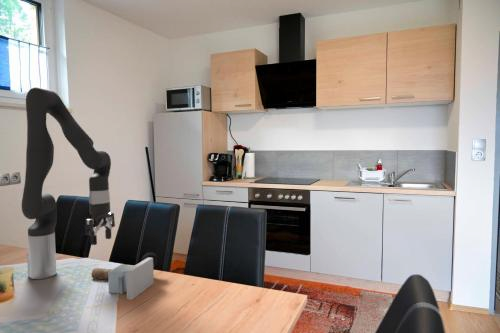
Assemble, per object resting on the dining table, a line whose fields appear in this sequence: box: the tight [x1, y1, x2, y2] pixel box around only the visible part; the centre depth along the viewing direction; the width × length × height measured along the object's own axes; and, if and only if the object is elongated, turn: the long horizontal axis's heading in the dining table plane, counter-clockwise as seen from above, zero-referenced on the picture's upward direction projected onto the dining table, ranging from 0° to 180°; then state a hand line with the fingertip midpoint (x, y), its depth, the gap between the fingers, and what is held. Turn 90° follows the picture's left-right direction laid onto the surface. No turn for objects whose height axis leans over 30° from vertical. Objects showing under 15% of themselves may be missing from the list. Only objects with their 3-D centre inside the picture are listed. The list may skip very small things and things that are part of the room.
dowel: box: [91, 267, 113, 281], centre depth 133 cm, size 11×4×4 cm
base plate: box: [126, 257, 155, 301], centre depth 121 cm, size 2×14×10 cm, turn 166°
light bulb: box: [141, 252, 158, 271], centre depth 134 cm, size 6×6×10 cm
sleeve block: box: [107, 264, 136, 295], centre depth 123 cm, size 6×8×8 cm
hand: (101, 241), depth 134 cm, fingers open, 8 cm apart
